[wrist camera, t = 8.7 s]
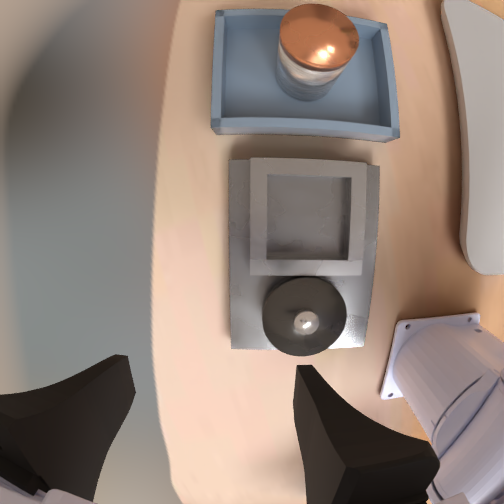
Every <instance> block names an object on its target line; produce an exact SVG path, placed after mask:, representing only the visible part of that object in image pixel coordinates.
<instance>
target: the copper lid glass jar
mask: <svg viewBox="0 0 504 504" xmlns="http://www.w3.org/2000/svg"><path fill="white" fill-rule="evenodd" d="M358 46H359V35H358V32H357V29H356V27H355V26H354V24H353V23H352V21H351V20H350V19H349V18H348V17H347V16H346V15H344V14H343V13H342V12H340V11H338V10H336V9H334V8H332V7H329V6H326V5H321V4H304V5H300V6H297V7H295V8H293V9H291V10H290V11H288V12H287V13H286V14H285V16H284V17H283V19H282V21H281V24H280V34H279V45H278V56H277V67H276V80H277V83H278V85H279V87H280V88H281V90H282V91H283V92H284V93H285V94H287V95H288V96H289V97H291V98H293V99H296V100H299V101H304V102H311V101H316V100H319V99H321V98H323V97H324V96H326V95H327V94H328V93H329V91H330V90H331V88H332V87H333V85H334V84H335V82H336V81H337V79H338V78H339V76H340V75H341V73H342V72H343V70H344V69H345V67H346V66H347V64H348V63H349V61H350V60H351V58H352V57H353V55H354V54H355V52H356V51H357V49H358Z"/></svg>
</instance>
